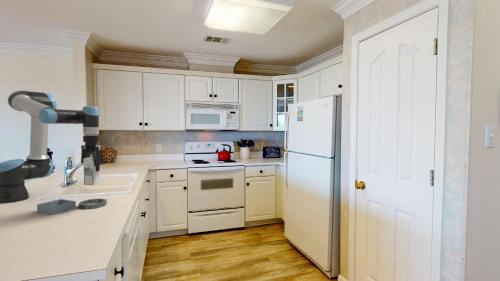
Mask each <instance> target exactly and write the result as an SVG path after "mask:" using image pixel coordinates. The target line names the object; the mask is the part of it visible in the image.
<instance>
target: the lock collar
mask: <svg viewBox="0 0 500 281" xmlns="http://www.w3.org/2000/svg"><path fill="white" fill-rule="evenodd" d="M107 202H108V199H107V198H101V197H100V198H90V199H86V200H82V201H80V202H79V203H78V209H83V210H91V209H98V208H101V207H105V206H106V205H107Z"/></svg>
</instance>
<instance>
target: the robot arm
mask: <svg viewBox="0 0 500 281" xmlns="http://www.w3.org/2000/svg"><path fill="white" fill-rule="evenodd" d="M7 104H8V106H9V107H11V109H13V110H15V111H17V112H25V113H27V114H28V115H29V116H30V134H29V136H30V137H29V138H30V140H29V154H28V155H27V156H26V160H24V159H23V158H17V159H10V160H9V159H8V160H5V161H1V162H0V204H5V203H7V204H8V203H16V202H20V201H24V200H27V199H29V198H30V194H29V192H28V189H27V188H26V185H25V181H27V180H29V181H30V180H34V179H42V178H46V177H49V176H51V174H53V171H54V168H55V164H54V161H53V160H52V159H51V157H50V155H48V154H47V153H48V139H49V138H48V136H49V125H54V124H55V125H56V124H58V125H60V124H61V125H64V124H65V125H67V124H69V125H71V124H72V125H82V134H83V136H82V141H83V142H82V143H84V144H83V145H81V146H80V148H81V149H80V150H81V152H80V153H81V154H80V157H81V158H80V163H81V164H83V159H84V158H91V156H92V158H93V159H94V163H95V165H94V178H97V177H99V171H100V170H101V168H100V166H102V165H103V163H104V162H103V154H102V153H103V152H102V148H103V146H101V145H100V146H99V145H98V143H99V142H100V135H99V134H100V123H99V122H100V120H99V119H100V113H99V108H98V107H97V106H92V105H91V106H90V105H89V106H88V105H87V106H86V105H85V106H83V107H82V110H79V109H61V108H60V109H58V108H57V100H56V99H55V96H54V95H53V94H51V93H48V92H43V91H42V92H40V91H39V92H38V91H27V90H17V91H14V92H12V93H11V94H10V95H9V96H8V98H7Z"/></svg>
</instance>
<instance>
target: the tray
mask: <svg viewBox="0 0 500 281" xmlns="http://www.w3.org/2000/svg"><path fill="white" fill-rule="evenodd" d="M76 208H77V203H76V200H71V199H65V198H58V199H54V200H50V201H46V202H42V203H37V204H36V210H37V212H38V213H43V214H47V215H51V216H52V215H56V214H59V213H62V212H67V211H70V210H72V209H73V210H74V209H76Z"/></svg>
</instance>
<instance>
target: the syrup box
mask: <svg viewBox="0 0 500 281" xmlns="http://www.w3.org/2000/svg"><path fill="white" fill-rule="evenodd" d="M82 164H83V185H85V186H94V185H95V186H96V185H99V184H101V172H100V171H99V177H97V178H94V165H95V163H94V159H93V157H90V158H84V159H83V163H82Z"/></svg>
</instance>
